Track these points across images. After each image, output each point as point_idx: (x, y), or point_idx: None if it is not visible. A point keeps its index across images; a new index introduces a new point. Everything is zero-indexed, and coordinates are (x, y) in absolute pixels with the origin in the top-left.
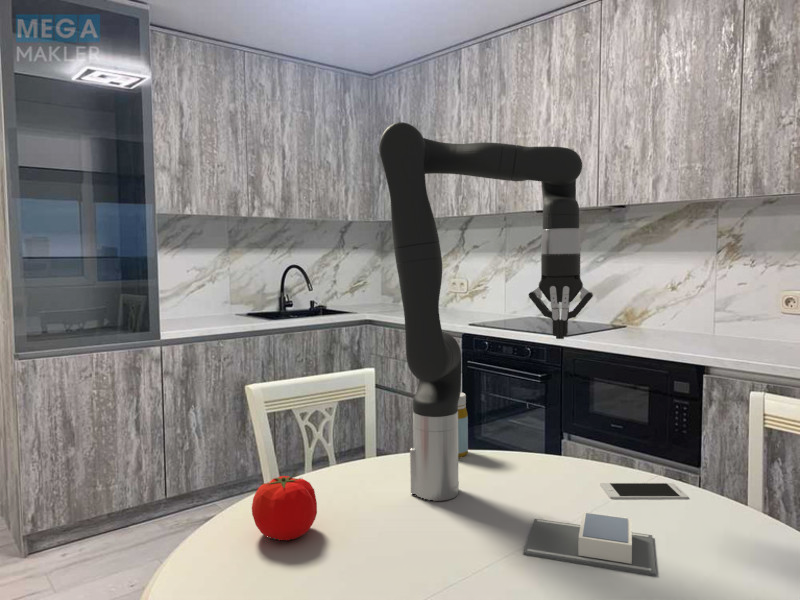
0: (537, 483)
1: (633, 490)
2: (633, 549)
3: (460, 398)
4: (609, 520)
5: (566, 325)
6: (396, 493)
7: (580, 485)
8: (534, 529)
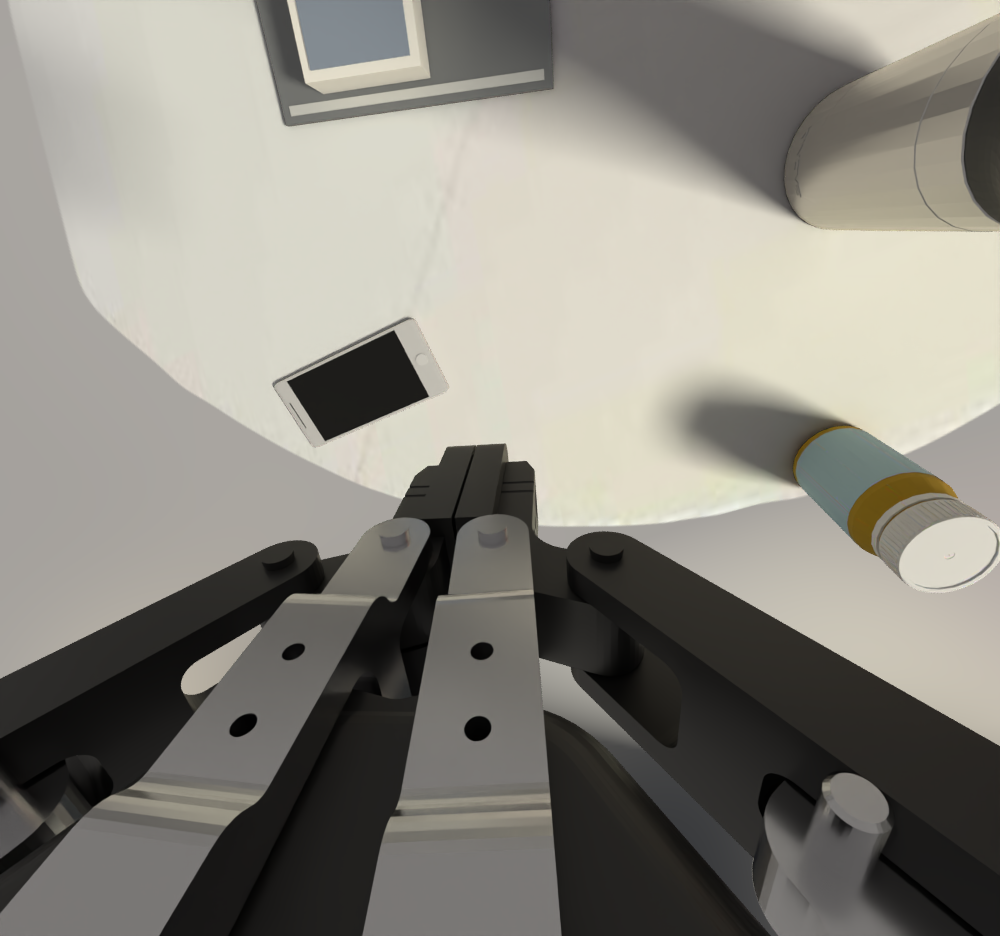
0: (586, 343)
1: (375, 374)
2: None
3: (914, 530)
4: (345, 29)
5: (403, 513)
6: None
7: (489, 370)
8: (540, 7)
